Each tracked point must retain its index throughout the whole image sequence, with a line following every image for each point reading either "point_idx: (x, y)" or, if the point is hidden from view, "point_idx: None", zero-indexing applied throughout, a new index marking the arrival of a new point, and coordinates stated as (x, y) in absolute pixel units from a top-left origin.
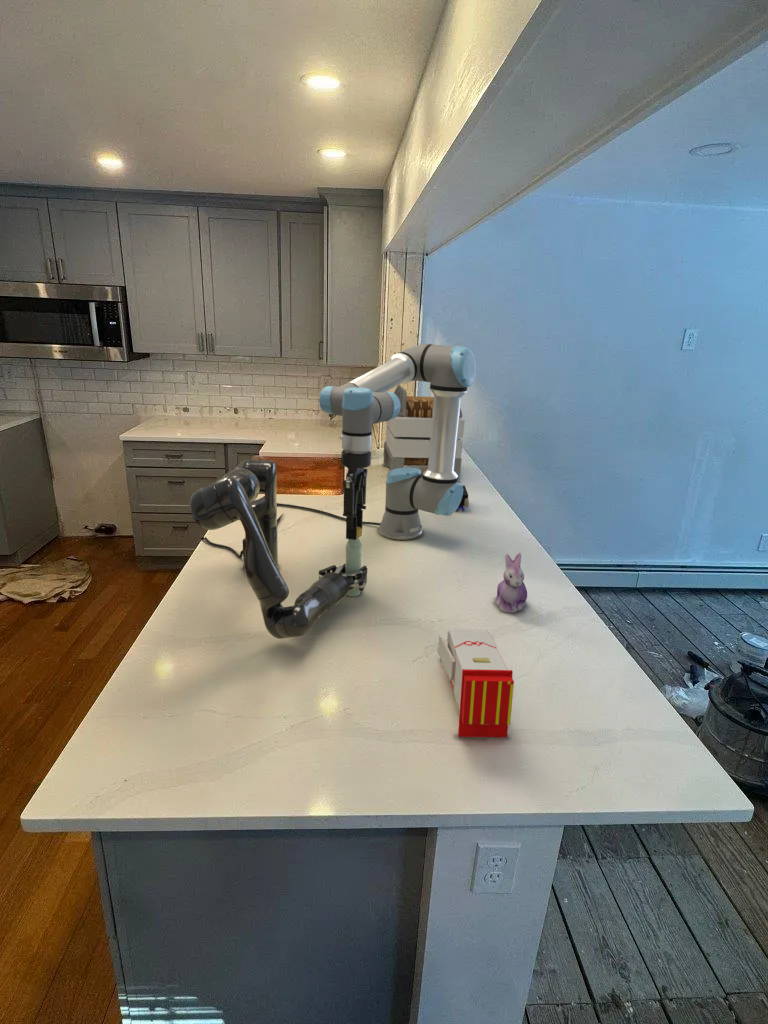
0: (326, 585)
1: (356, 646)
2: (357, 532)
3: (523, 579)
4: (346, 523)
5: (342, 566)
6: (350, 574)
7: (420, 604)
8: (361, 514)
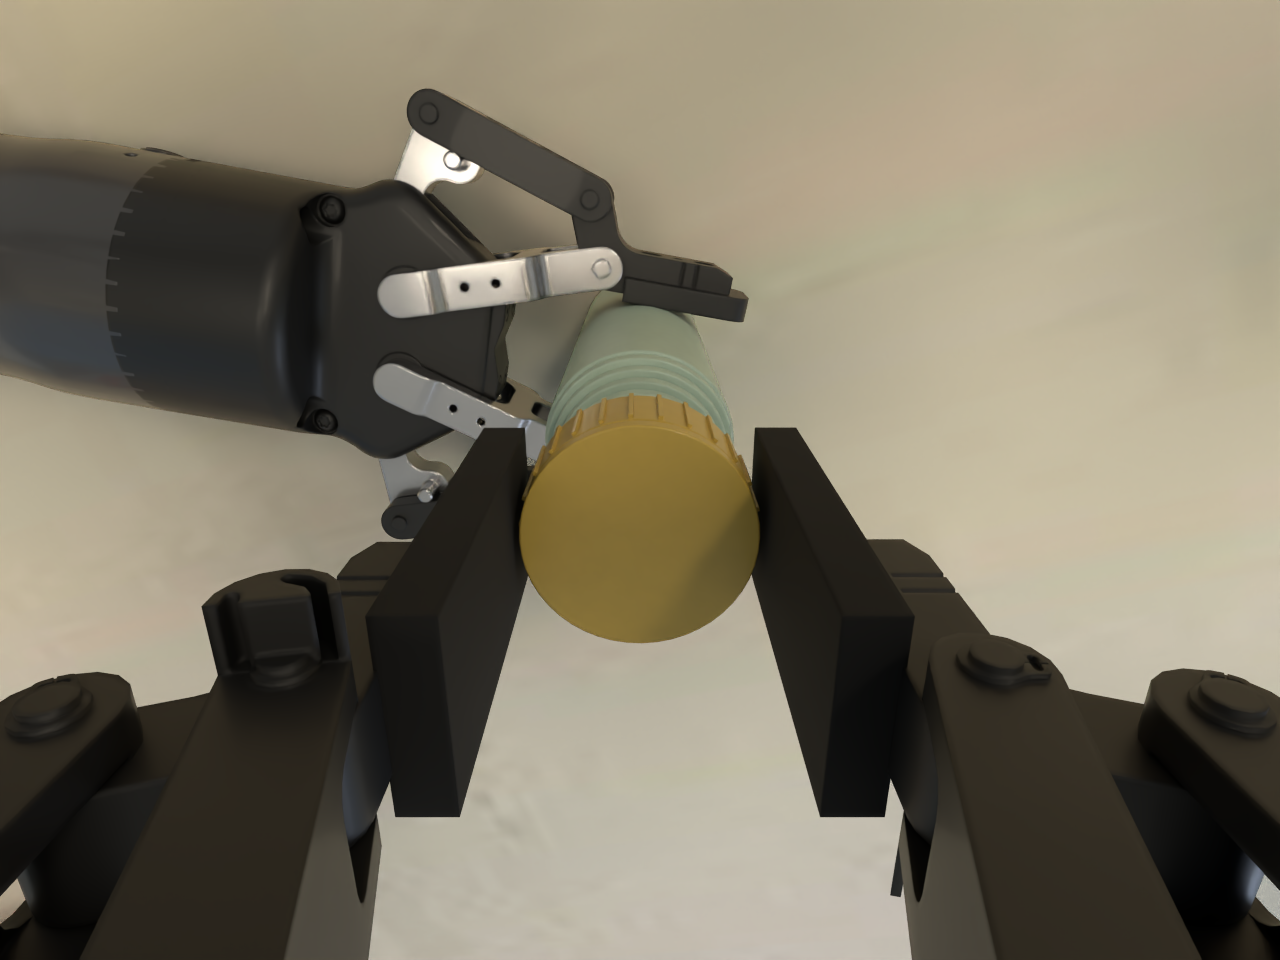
0: (11, 342)
1: (75, 536)
2: (556, 603)
3: None
4: (419, 532)
5: (610, 282)
6: (449, 417)
7: (635, 725)
8: (804, 747)
